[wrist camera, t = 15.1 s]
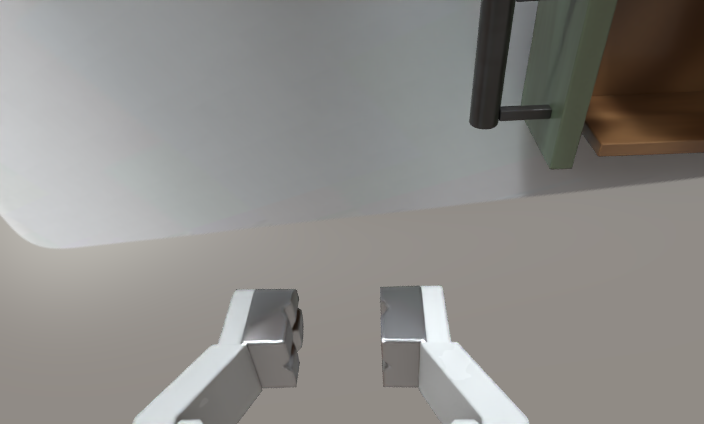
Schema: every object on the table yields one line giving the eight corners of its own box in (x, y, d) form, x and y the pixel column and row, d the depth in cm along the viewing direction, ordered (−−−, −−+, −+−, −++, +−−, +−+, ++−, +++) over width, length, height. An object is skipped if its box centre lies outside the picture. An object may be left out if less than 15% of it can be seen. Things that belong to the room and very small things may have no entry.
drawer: (454, 114, 31) (470, 173, 25) (469, -88, 24) (496, -64, 18) (737, 101, 29) (816, 160, 24) (843, -116, 22) (986, -99, 17)
